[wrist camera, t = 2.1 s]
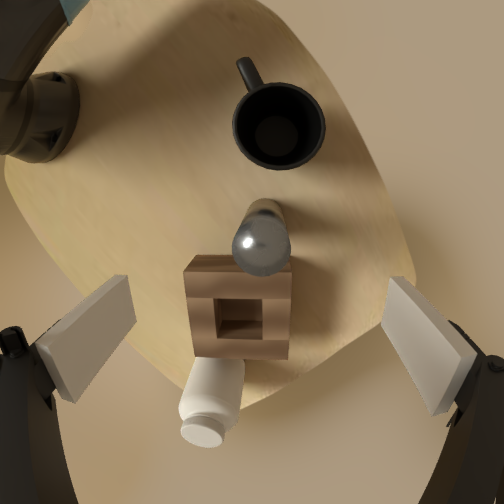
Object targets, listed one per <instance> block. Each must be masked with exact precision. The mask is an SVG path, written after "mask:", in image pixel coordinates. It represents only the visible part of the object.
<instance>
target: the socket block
mask: <svg viewBox="0 0 504 504" xmlns="http://www.w3.org/2000/svg"><path fill="white" fill-rule="evenodd" d="M183 276H184V284H185V292H186V300H187V308H188V315H189V322H190V329H191V335H192V342H193V348H194V354H195V357H206V358H223V359H249V360H288V350H289V333H290V313H291V290H292V269H291V264H290V259H289V260H288V262H287V264H286V265H285V266H284V267H283V268H282V269H281V270H280V271H279V272H277V273H275V274H273V275H270V276H266V277H258V276H253V275H250V274H248V273H246V272H245V271H243V270H242V269H241V268H240V267H239V266H238V265H237V263H236V262H235V260H234V257H233V255H196V256H195V257H194V258H193V260H192V261H191V262H190V264H189V265H188V266H187V267H186V269H185V270H184V271H183Z"/></svg>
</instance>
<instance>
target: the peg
mask: <svg viewBox="0 0 504 504" xmlns="http://www.w3.org/2000/svg"><path fill="white" fill-rule="evenodd" d="M232 253H233V257H234V260H235V262H236V263H237V265H238V266H239V267H240V268H241V269H242V270H243V271H245V272H246V273H248V274H250V275H253V276H258V277H266V276H270V275H273V274H275V273H277V272H279V271H280V270H281V269H282V268H283V267H284V266H285V265H286V264H287V262H288V260H289V257H290V253H291V245H290V240H289V236H288V232H287V228H286V224H285V221H284V217H283V213H282V210H281V208H280V206H279V205H278V204H277V203H276V202H275V201H273V200H271V199H266V198H264V199H259V200H256V201H255V202H253V203H252V204H251V205H250V207H249V209H248V211H247V213H246V215H245V217H244V219H243V221H242V223H241V225H240V227H239V229H238V231H237V233H236V235H235V237H234V240H233V243H232Z"/></svg>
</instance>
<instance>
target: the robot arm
mask: <svg viewBox="0 0 504 504" xmlns="http://www.w3.org/2000/svg"><path fill="white" fill-rule="evenodd" d="M89 1H90V0H0V155H10V156H12V157H15V158H17V159H20V160H23V161H25V162H28V163H44V162H48V161H50V160H52V159H53V158H55V157H56V156H57V155H58V154H59V153H60V152H61V151H62V150H63V149H64V147H65V146H66V144H67V143H68V141H69V139H70V138H71V135H72V133H73V131H74V128H75V125H76V122H77V118H78V113H79V102H80V101H79V92H78V88H77V85H76V83H75V82H74V80H73V79H72V78H71V77H70V76H68V75H66V74H63V73H59V72H45V73H40V74H34V75H32V73H33V72H34V70H35V69H36V67H37V66H38V64H39V63H40V61H41V60H42V58H43V57H44V55H45V54H46V53H47V51H48V50H49V49H50V47H51V46H52V45H53V44H54V42H55V41H56V40H57V39H58V37H59V36H60V35H61V34H62V33H63V32H64V30H65V29H66V28H67V27H68V26H70V25H71V24H72V21H73V20H74V18H75V17H76V16H77V15H78V14H79V12H80V11H81V10H82V9H83V8H84V7H85V6H86V5H87V3H88V2H89ZM136 322H137V320H136V316H135V311H134V307H133V302H132V297H131V292H130V287H129V281H128V276H127V275H114V276H113V277H112V278H110V279H109V280H108V281H107V282H105V283H104V284H103V285H102V286H100V287H99V288H98V289H97V290H95V291H94V292H93V293H92V294H91V295H89V296H88V297H87V298H86V299H84V300H83V301H82V302H81V303H80V304H78V306H76V307H75V308H74V309H73V310H72V311H70V312H69V313H68V314H67V315H66V316H64V317H63V318H62V319H60V320H58V321H57V322H56V323H55V324H54V325H53V326H52V327H51V328H49V329H48V330H47V332H45V333H43V334H42V335H41V336H40V337H39V338H38V339H37V340H36V341H35V342H34V343H32V344H31V345H30V346H29V345H28V343H27V341H26V338H25V335H24V333H23V330H22V328H20V327H18V326H12V327H8V328H6V329H4V330H2V331H1V332H0V348H1V350H2V353H3V354H0V504H78V501H77V498H76V495H75V492H74V488H73V485H72V482H71V478H70V475H69V471H68V468H67V463H66V459H65V455H64V450H63V446H62V440H61V435H60V430H59V423H58V417H57V410H56V402H55V398H54V396H53V394H52V392H53V391H54V390H55V388H56V389H57V390H58V393H59V394H60V396H61V398H62V399H64V400H67V401H70V402H72V403H76V402H77V401H78V399H79V398H80V396H81V395H82V394H83V392H84V390H85V389H86V388H87V387H88V385H89V384H90V383H91V381H92V380H93V378H94V377H95V376H96V374H97V373H98V371H99V370H100V369H101V368H102V366H103V365H104V364H105V362H106V361H107V359H108V358H109V357H110V356H111V354H112V353H113V352H114V350H115V349H116V348H117V346H118V345H119V344H120V343H121V341H122V340H123V339H124V337H125V336H126V335H127V333H128V332H129V331H130V330H131V328H132V327H133V326H134V325H135V323H136ZM381 326H382V328H383V329H384V331H385V333H386V334H387V336H388V338H389V339H390V341H391V343H392V344H393V346H394V348H395V350H396V351H397V353H398V355H399V356H400V358H401V360H402V362H403V364H404V365H405V367H406V369H407V371H408V373H409V374H410V376H411V378H412V380H413V382H414V384H415V385H416V387H417V389H418V391H419V393H420V394H421V397H422V399H423V400H424V402H425V404H426V406H427V408H428V410H429V412H430V414H431V416H436V415H439V414H442V413H445V412H448V410H449V409H450V407H451V405H452V403H453V402H454V401H455V402H456V404H457V406H458V408H457V409H456V411H455V413H454V414H453V416H452V417H451V419H450V421H449V422H448V424H447V426H446V427H449V425H450V423H451V426H450V429H449V432H448V435H447V438H446V441H445V444H444V446H443V449H442V452H441V455H440V457H439V460H438V462H437V464H436V467H435V469H434V472H433V474H432V476H431V479H430V481H429V483H428V485H427V487H426V489H425V491H424V493H423V495H422V497H421V499H420V501H419V503H418V504H494V501H495V497H496V503H495V504H504V359H503V358H501V357H499V356H495V355H489V356H486V355H485V354H484V353H483V352H482V351H481V350H480V348H479V347H478V346H477V345H476V344H475V343H474V342H473V341H472V340H471V339H470V338H469V336H468V335H467V334H465V332H464V331H463V330H462V329H461V328H460V327H459V326H458V325H457V324H455V323H453V322H452V321H450V320H446V319H445V317H444V316H443V315H442V314H441V313H440V312H439V311H438V310H437V309H436V308H435V307H434V306H433V305H432V304H431V303H430V302H429V301H428V300H427V299H426V298H425V297H424V296H423V295H422V294H421V293H420V292H419V291H418V290H417V289H416V288H415V287H414V286H413V285H412V284H411V283H410V282H409V281H407V280H406V279H405V278H404V277H403V276H399V277H390V280H389V286H388V292H387V297H386V303H385V308H384V313H383V317H382V322H381Z"/></svg>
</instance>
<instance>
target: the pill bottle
mask: <svg viewBox="0 0 504 504" xmlns="http://www.w3.org/2000/svg"><path fill="white" fill-rule="evenodd" d="M244 376H245V363H244V360H243V359H223V358H206V357H196V359H195V362H194V365H193V367H192V370H191V373H190V375H189V378H188V381H187V384H186V386H185V389H184V392H183V395H182V397H181V400H180V403H179V413H180V416H181V418H182V420H183V421H184V422H183V424H182V427H181V434H182V436H183V437H184V438H185V439H186V440H187V441H189V442H190V443H192V444H194V445H197V446H201V447H208V448H211V447H217V446H219V445H221V444H222V443H223V441H224V436H225V433H226V432H227V431H229V430H231V429H232V428H233V427H234V426H235V425H236V423H237V422H238V418H239V412H240V405H241V397H242V390H243V383H244Z"/></svg>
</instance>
